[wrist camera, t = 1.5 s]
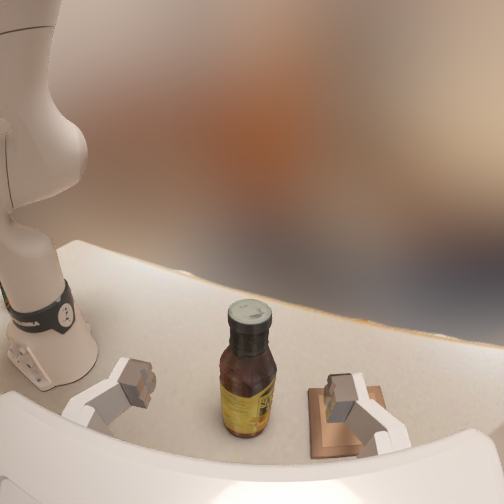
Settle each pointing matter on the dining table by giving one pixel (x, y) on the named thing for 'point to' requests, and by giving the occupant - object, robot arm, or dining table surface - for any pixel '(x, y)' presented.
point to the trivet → (333, 428)
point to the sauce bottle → (247, 369)
